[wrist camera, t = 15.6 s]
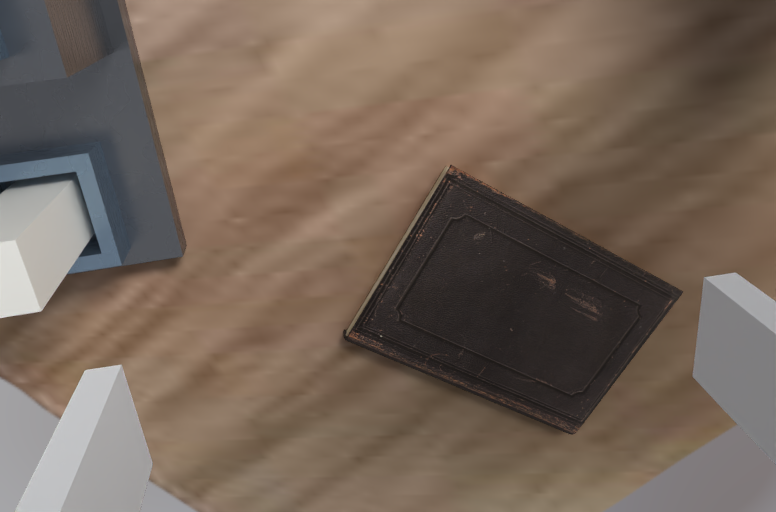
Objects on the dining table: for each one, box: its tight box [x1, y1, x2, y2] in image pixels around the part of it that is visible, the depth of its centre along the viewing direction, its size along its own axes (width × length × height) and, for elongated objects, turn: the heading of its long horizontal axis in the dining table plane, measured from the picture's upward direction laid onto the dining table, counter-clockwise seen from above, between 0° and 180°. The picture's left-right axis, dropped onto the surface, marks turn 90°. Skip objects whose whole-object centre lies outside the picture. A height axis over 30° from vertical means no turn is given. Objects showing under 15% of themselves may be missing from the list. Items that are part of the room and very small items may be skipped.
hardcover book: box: [343, 165, 683, 435], centre depth 55 cm, size 16×23×2 cm
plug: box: [0, 172, 95, 318], centre depth 39 cm, size 5×4×12 cm
